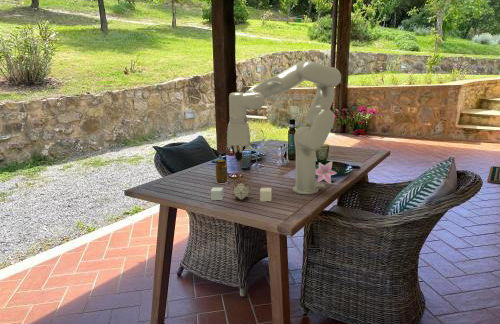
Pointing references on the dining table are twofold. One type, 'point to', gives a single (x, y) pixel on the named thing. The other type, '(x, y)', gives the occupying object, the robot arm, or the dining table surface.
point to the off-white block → (265, 194)
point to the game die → (241, 191)
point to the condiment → (221, 171)
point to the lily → (325, 172)
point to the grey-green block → (217, 194)
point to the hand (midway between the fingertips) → (238, 160)
